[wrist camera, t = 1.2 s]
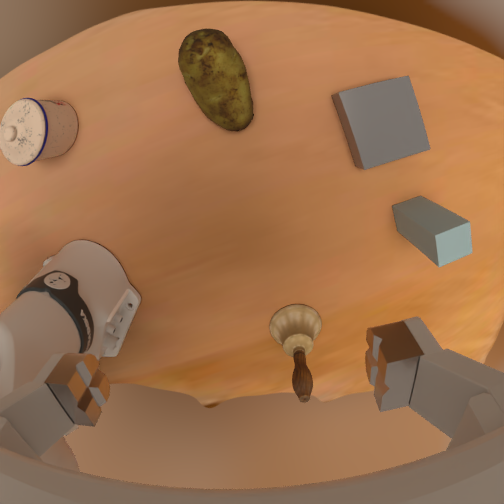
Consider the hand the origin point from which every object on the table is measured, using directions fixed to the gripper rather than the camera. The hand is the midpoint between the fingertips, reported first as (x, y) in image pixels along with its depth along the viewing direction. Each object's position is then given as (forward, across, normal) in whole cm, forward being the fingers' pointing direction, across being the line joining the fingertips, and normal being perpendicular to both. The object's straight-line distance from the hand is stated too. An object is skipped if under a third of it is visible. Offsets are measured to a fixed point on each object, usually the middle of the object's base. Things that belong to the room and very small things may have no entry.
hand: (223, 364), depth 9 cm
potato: (+36, -2, +13) cm, 38 cm away
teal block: (+36, +22, -8) cm, 42 cm away
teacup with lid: (+36, -29, +14) cm, 48 cm away
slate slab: (+36, +18, +6) cm, 40 cm away
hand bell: (+36, +3, -24) cm, 43 cm away
